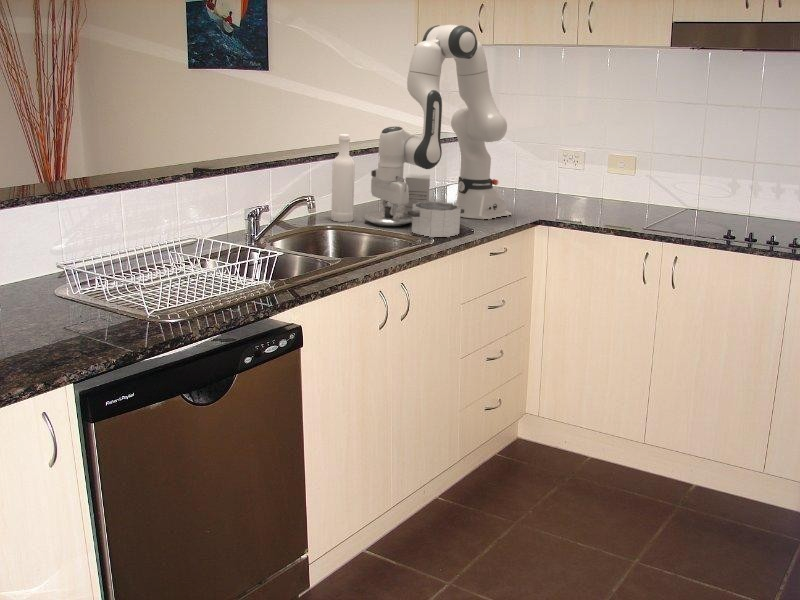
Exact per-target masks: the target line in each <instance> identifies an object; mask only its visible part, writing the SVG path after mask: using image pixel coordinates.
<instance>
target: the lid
mask: <svg viewBox="0 0 800 600" xmlns="http://www.w3.org/2000/svg"><path fill="white" fill-rule="evenodd" d="M391 207H392V206H391V205H390V206H389V205H388V206H386V207H385V212H383V211H377V212H376V211H375V212H369V213H366V214H365V215H364V220H366V221H367V222H369V223H372V224H373V225H375V226H381V227H402V226H405V225H407V224H409V223H412V216H410V215H407V214H404V212H403V213H402V212H396V215H390V214H389V210H391Z"/></svg>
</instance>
